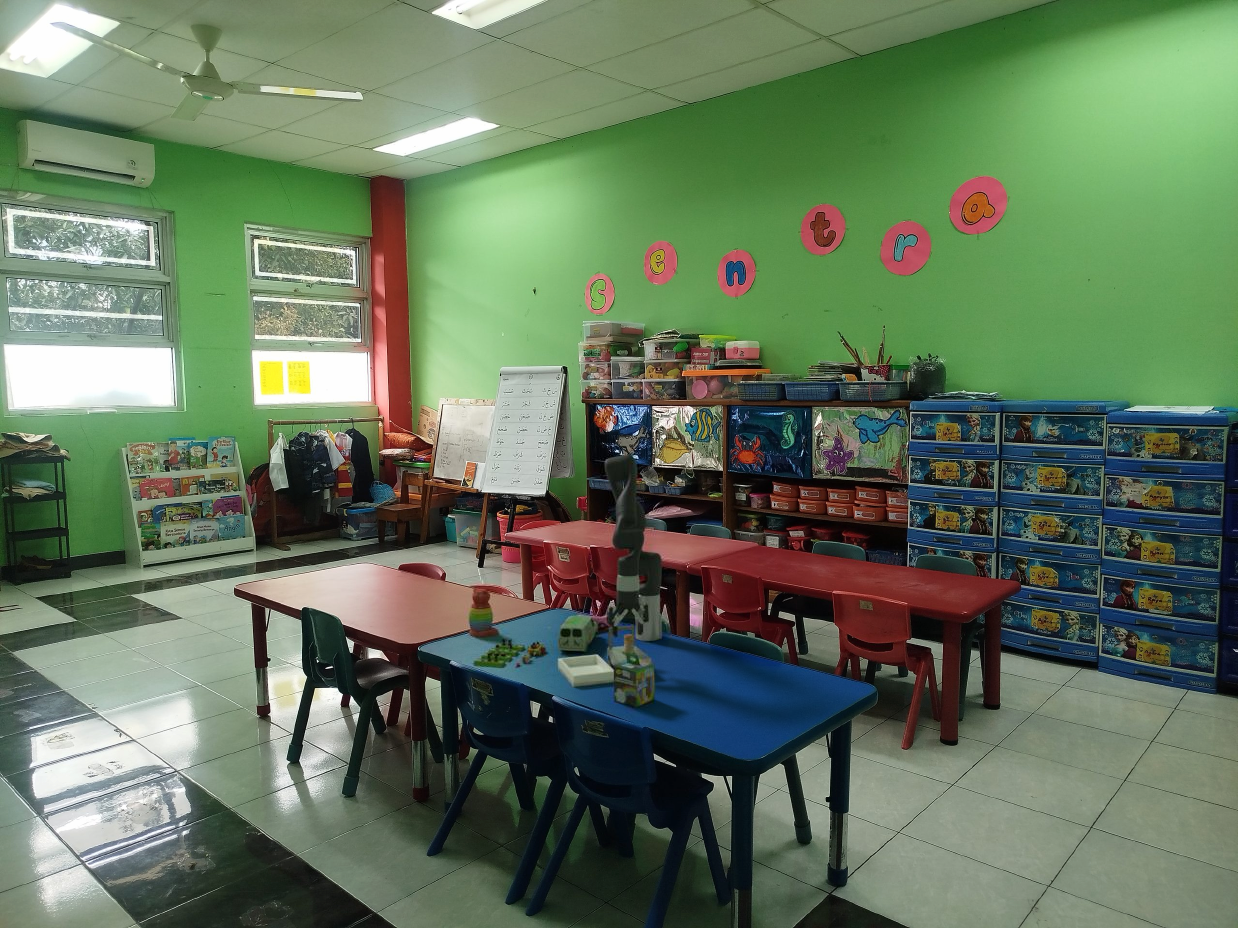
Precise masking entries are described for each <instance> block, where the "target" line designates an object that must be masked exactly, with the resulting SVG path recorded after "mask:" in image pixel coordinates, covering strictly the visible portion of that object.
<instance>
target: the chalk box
mask: <svg viewBox="0 0 1238 928" xmlns="http://www.w3.org/2000/svg"><path fill="white" fill-rule="evenodd" d="M631 656H632V657H634V658H635V659H634V658H630V657H631ZM626 658H627V660H624V661H621V662H620V663H617V664H615V665H614V667H613V670H614V682H613V702H617V703H621V704H624V705H628V706H629V707H634V708H639V707H641V706H643V705H644V704H646V703H650V702H651V701H653V700H655V699H656V697H655V663H654V662H653V661H651V662H649V661H644V660H639V658H638V655H636V654H632V653H628V652H626Z"/></svg>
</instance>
